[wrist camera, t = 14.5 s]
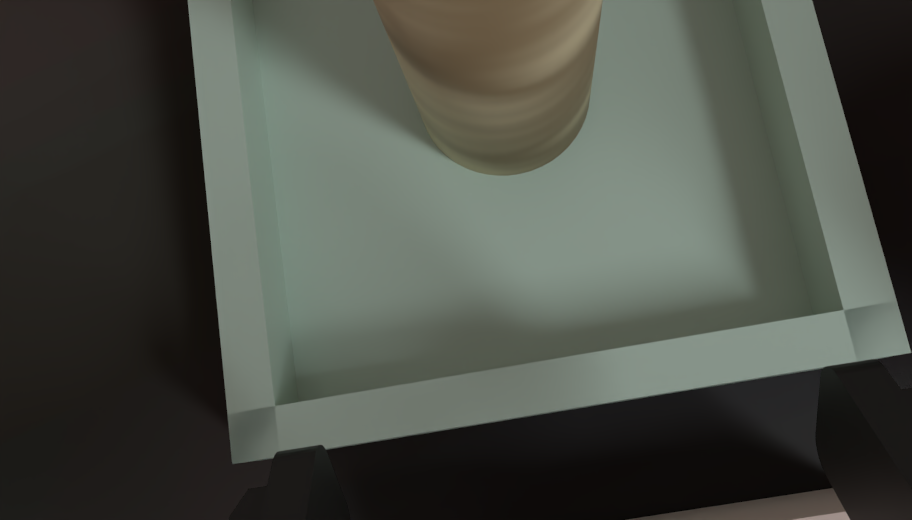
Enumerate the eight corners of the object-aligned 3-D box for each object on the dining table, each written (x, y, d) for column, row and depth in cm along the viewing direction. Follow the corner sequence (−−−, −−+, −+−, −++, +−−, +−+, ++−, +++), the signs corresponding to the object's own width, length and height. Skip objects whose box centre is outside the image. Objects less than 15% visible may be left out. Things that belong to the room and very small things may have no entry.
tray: (707, -212, 25) (728, -297, 22) (860, 362, 21) (911, 352, 18) (212, -105, 26) (171, -171, 23) (273, 458, 22) (231, 464, 19)
